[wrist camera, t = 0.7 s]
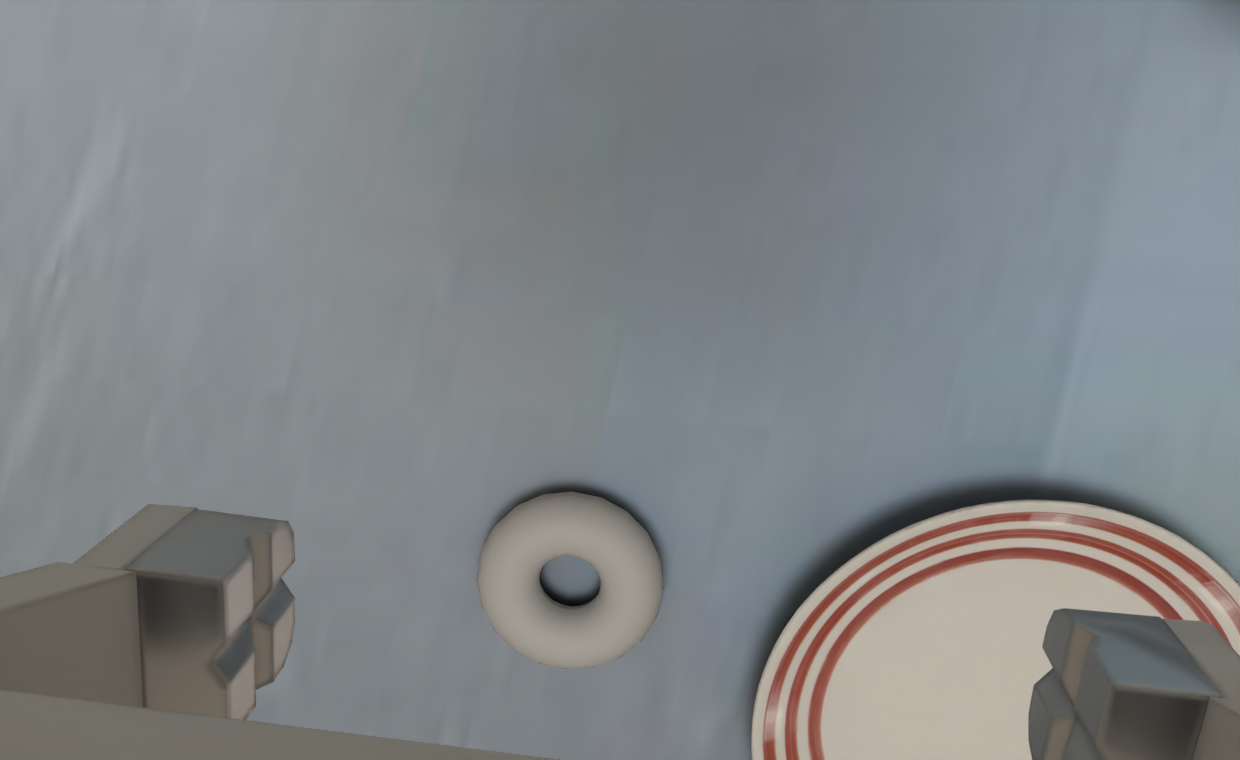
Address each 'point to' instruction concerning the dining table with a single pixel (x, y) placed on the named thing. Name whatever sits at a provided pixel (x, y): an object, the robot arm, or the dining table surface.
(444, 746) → the robot arm
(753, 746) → the dinner plate
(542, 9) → the dining table surface
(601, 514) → the donut
